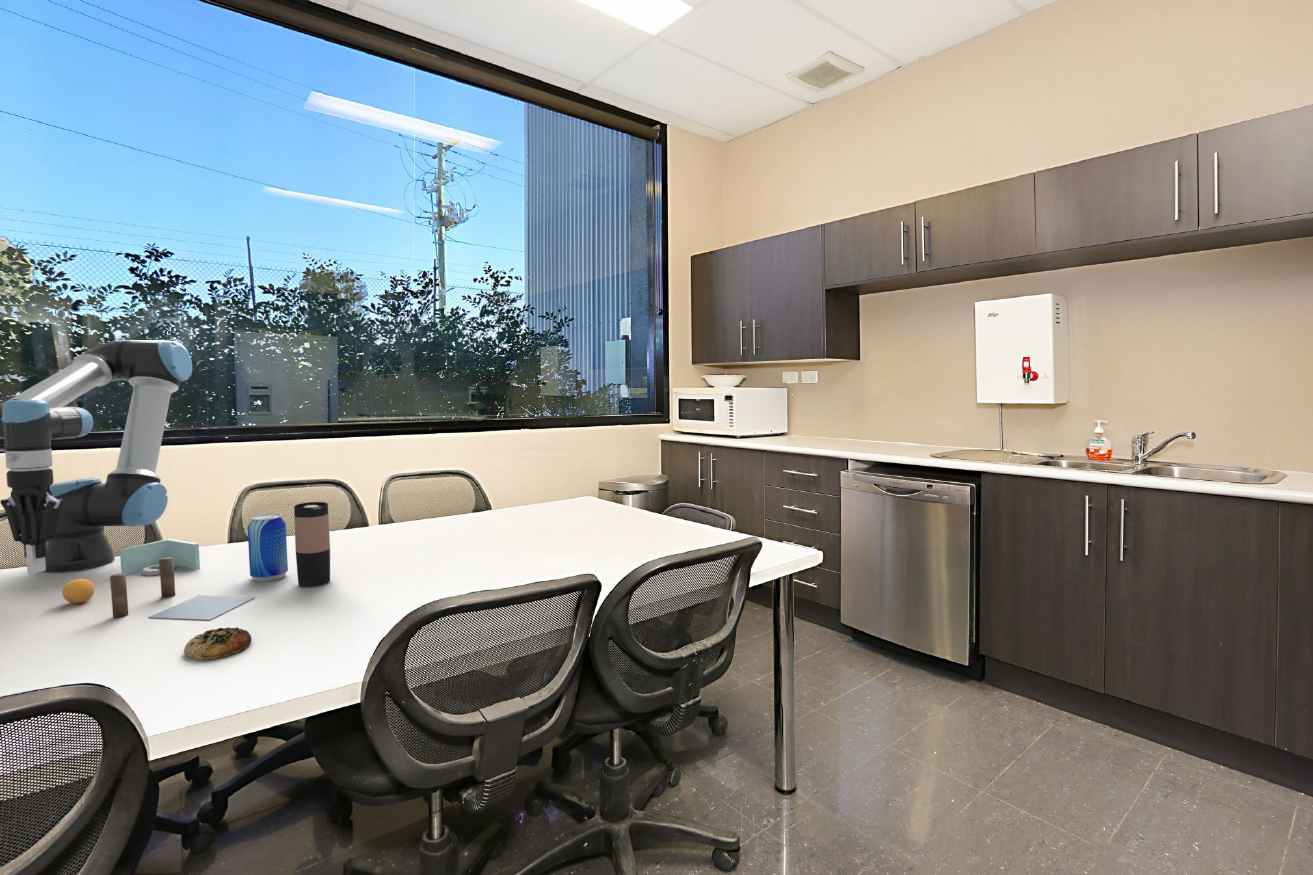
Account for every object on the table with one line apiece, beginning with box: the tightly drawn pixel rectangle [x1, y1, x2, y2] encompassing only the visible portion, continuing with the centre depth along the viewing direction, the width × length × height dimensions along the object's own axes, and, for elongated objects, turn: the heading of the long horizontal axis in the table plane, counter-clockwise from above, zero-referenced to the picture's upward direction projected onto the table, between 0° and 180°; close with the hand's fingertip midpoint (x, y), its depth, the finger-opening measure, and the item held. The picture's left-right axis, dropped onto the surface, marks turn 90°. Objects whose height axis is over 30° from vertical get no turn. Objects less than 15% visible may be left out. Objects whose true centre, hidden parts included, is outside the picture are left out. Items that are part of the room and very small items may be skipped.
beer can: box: [247, 513, 289, 582], centre depth 167 cm, size 8×8×16 cm
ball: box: [61, 578, 96, 604], centre depth 148 cm, size 6×6×6 cm
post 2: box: [159, 557, 176, 599], centre depth 153 cm, size 3×3×9 cm
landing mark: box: [147, 594, 256, 622], centre depth 146 cm, size 14×14×1 cm
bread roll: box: [183, 626, 252, 662], centre depth 124 cm, size 11×11×5 cm
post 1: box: [109, 572, 129, 619], centre depth 140 cm, size 3×3×9 cm
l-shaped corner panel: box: [119, 538, 201, 577], centre depth 171 cm, size 12×12×8 cm
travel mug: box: [293, 501, 331, 588], centre depth 163 cm, size 8×8×20 cm
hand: (36, 571), depth 147 cm, fingers closed
